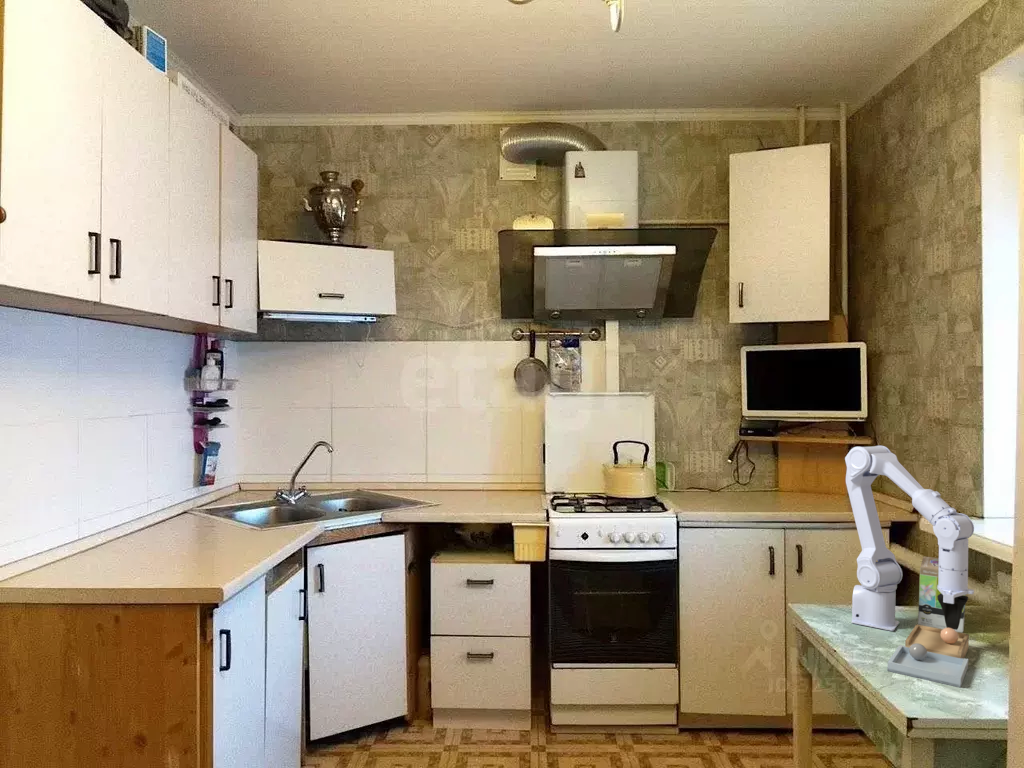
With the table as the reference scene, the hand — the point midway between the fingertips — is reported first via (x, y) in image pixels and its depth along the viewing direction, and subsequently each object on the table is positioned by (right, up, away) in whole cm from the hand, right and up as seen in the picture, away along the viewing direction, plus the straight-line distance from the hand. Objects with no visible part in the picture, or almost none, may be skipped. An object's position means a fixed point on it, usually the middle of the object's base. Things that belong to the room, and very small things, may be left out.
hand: (952, 628), depth 166 cm
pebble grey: (-12, -2, -8) cm, 15 cm away
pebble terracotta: (-3, -1, -4) cm, 5 cm away
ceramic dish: (-12, -5, -12) cm, 18 cm away
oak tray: (-5, -5, -2) cm, 7 cm away
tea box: (+9, -5, +19) cm, 22 cm away
